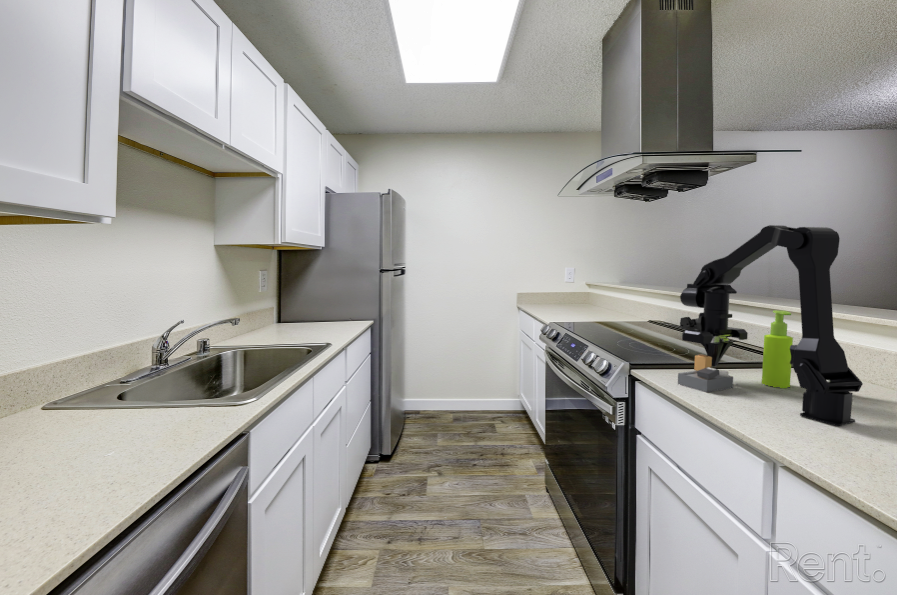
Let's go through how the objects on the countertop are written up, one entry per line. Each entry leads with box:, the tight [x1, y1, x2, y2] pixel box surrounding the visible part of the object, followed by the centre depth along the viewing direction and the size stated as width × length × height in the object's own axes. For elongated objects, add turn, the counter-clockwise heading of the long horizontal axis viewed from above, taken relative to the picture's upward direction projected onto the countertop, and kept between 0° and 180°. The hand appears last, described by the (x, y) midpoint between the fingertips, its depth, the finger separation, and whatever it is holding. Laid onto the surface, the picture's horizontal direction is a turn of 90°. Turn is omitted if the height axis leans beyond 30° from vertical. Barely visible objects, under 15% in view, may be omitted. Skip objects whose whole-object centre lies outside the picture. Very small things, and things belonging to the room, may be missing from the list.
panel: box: [677, 369, 734, 393], centre depth 107 cm, size 8×10×4 cm
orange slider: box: [693, 353, 712, 371], centre depth 110 cm, size 3×2×4 cm
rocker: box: [697, 367, 720, 379], centre depth 104 cm, size 3×4×2 cm
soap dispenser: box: [761, 310, 794, 389], centre depth 107 cm, size 6×7×20 cm
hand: (713, 366), depth 112 cm, fingers closed
